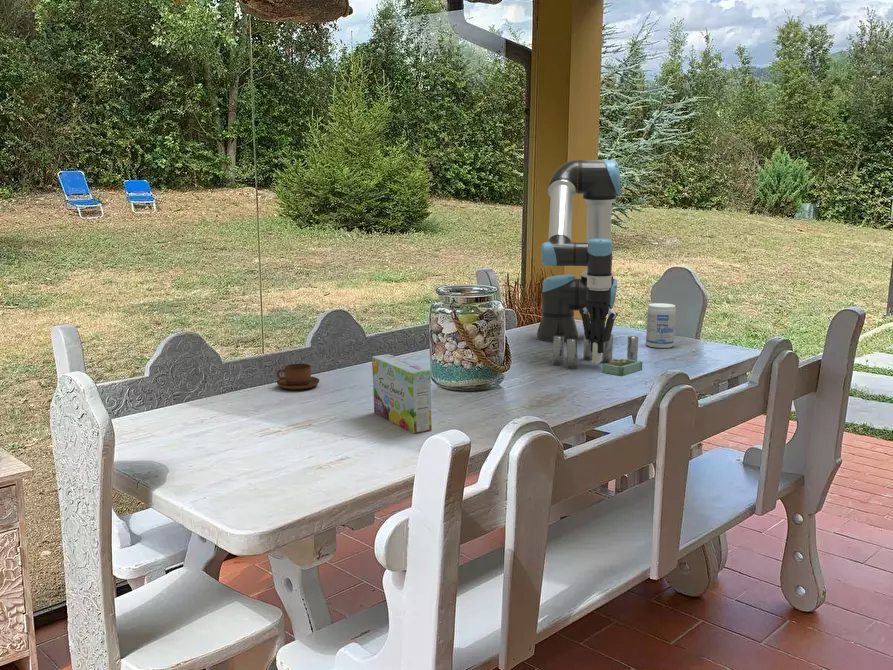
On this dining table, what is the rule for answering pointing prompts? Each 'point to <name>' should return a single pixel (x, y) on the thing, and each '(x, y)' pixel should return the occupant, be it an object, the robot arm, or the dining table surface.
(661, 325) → the supplement tub
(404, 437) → the dining table surface
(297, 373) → the cup and saucer
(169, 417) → the dining table surface
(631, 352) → the spacers
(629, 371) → the tray
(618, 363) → the nut
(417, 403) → the snack box
